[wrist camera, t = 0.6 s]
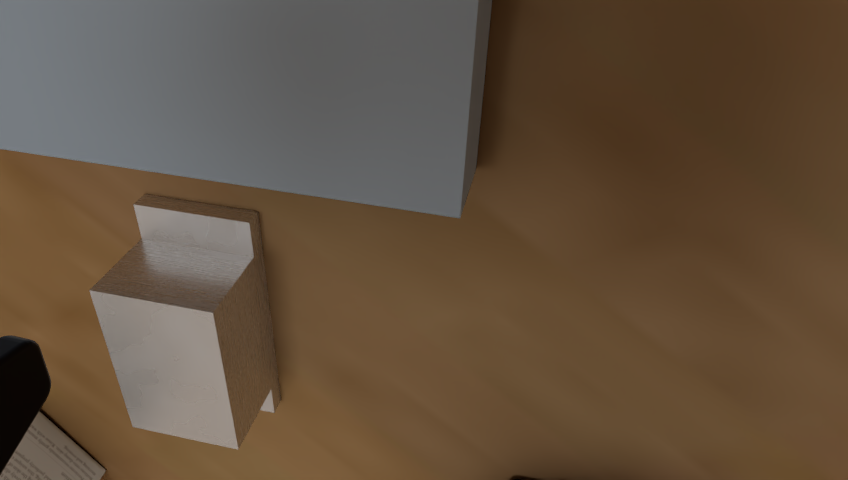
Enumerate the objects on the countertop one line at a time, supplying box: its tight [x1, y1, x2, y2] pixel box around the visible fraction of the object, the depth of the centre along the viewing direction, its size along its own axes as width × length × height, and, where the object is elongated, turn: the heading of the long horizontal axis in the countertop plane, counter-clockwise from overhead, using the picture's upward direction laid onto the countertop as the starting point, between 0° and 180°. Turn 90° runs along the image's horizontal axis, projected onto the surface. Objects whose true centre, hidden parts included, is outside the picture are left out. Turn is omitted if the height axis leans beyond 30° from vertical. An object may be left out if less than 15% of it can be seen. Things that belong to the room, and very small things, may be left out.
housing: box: [89, 194, 281, 449], centre depth 26 cm, size 10×4×4 cm, turn 178°
